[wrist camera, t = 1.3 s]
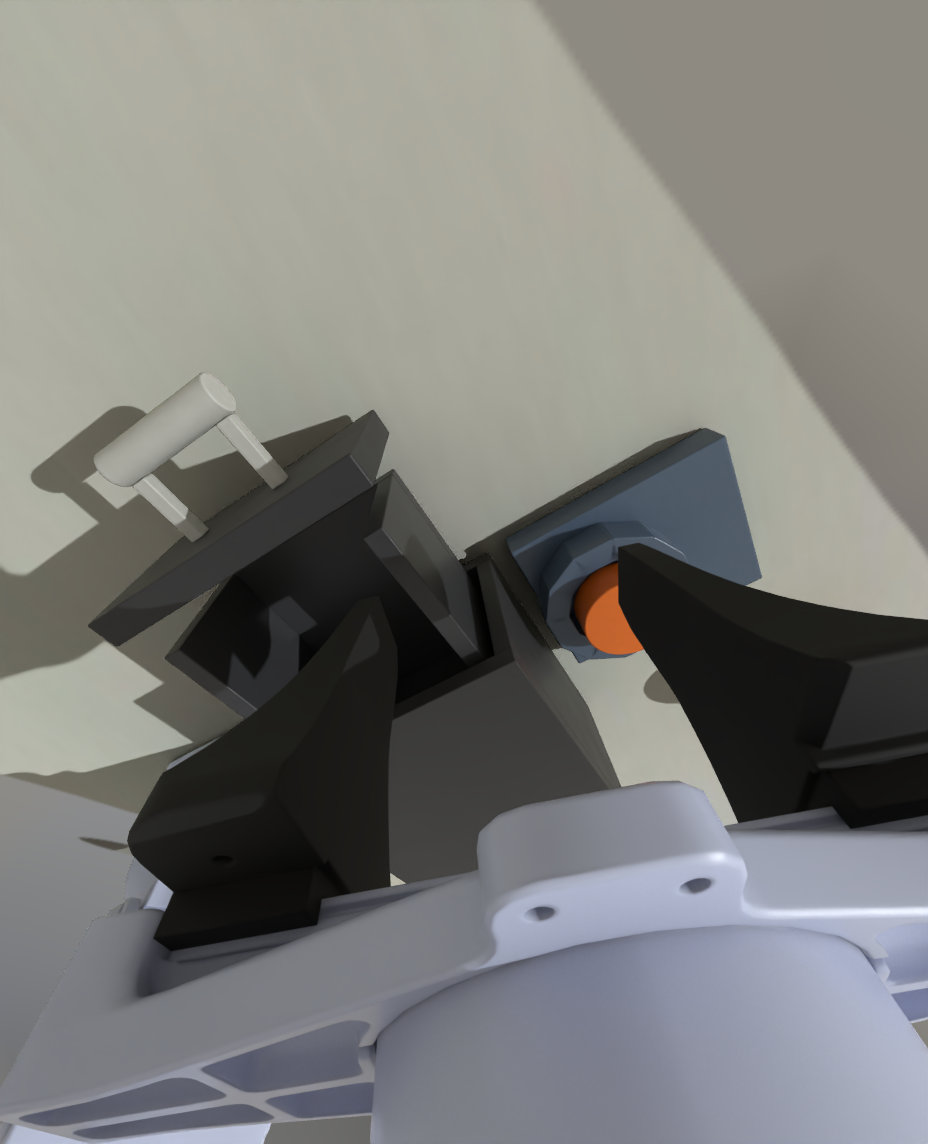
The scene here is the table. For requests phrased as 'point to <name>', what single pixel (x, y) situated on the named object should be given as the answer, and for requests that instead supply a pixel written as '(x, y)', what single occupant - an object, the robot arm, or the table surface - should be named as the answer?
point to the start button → (604, 613)
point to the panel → (639, 530)
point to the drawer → (290, 558)
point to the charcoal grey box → (487, 743)
